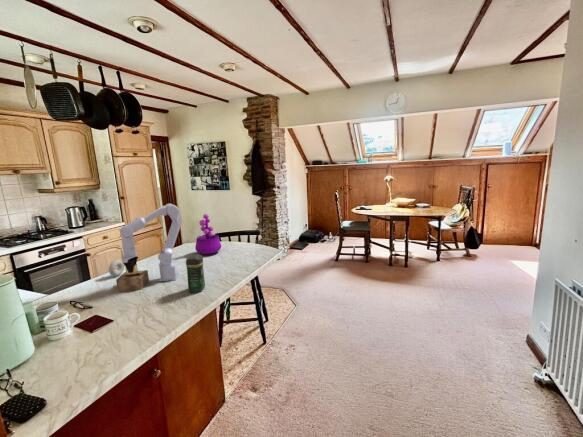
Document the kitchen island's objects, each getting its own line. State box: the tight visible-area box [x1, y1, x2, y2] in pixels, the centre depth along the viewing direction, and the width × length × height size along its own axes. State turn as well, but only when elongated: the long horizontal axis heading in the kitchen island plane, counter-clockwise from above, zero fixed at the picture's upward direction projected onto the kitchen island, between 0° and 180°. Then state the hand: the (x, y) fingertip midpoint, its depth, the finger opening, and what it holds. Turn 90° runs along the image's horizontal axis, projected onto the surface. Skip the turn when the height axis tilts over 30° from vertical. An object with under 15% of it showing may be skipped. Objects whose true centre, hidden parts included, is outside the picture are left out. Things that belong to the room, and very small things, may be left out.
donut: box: [108, 259, 125, 277], centre depth 176 cm, size 10×4×10 cm, turn 166°
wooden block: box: [124, 263, 139, 275], centre depth 159 cm, size 5×3×5 cm, turn 99°
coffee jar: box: [185, 253, 206, 294], centre depth 152 cm, size 10×8×19 cm
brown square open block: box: [115, 269, 150, 292], centre depth 160 cm, size 12×12×6 cm
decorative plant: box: [195, 213, 222, 255], centre depth 217 cm, size 19×18×30 cm
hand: (132, 271), depth 159 cm, fingers closed on wooden block, 3 cm apart
